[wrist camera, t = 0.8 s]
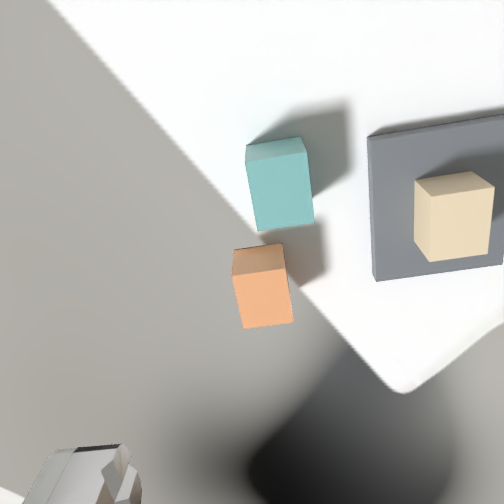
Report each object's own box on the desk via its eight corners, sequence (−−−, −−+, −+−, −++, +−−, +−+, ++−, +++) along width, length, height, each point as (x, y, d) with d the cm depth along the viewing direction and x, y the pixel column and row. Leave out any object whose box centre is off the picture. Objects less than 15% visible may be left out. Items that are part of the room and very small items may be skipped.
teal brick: (246, 145, 37) (244, 162, 33) (300, 136, 37) (307, 151, 32) (257, 208, 40) (257, 231, 35) (308, 200, 39) (314, 222, 35)
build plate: (366, 137, 36) (383, 154, 32) (511, 112, 35) (551, 127, 31) (372, 273, 43) (387, 305, 38) (494, 256, 42) (525, 287, 37)
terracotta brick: (234, 249, 42) (231, 276, 38) (282, 242, 42) (285, 268, 37) (244, 298, 45) (243, 328, 40) (289, 292, 44) (293, 322, 40)
